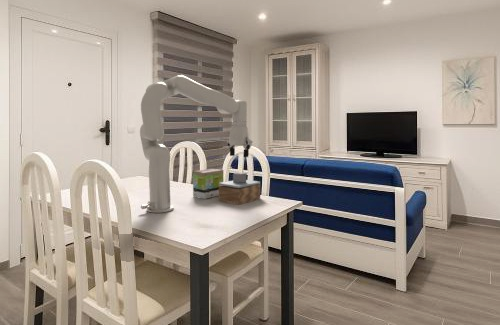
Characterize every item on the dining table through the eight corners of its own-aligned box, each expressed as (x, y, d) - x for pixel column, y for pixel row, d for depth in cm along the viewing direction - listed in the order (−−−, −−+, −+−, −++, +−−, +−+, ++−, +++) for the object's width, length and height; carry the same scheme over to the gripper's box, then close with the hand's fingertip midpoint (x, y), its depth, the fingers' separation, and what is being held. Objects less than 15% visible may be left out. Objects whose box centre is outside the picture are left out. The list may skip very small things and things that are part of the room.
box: (238, 204, 177) (238, 189, 176) (218, 200, 186) (218, 186, 185) (260, 198, 191) (260, 184, 190) (240, 194, 199) (240, 181, 198)
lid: (238, 188, 176) (238, 186, 176) (218, 184, 184) (218, 183, 184) (260, 183, 190) (260, 181, 189) (240, 180, 198) (240, 179, 198)
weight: (240, 183, 183) (240, 174, 183) (233, 182, 186) (233, 173, 186) (246, 182, 187) (246, 173, 187) (239, 181, 190) (239, 172, 190)
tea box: (205, 199, 189) (205, 172, 187) (192, 197, 195) (192, 170, 193) (224, 194, 201) (223, 169, 199) (211, 192, 207) (210, 167, 205)
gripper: (222, 123, 185) (222, 155, 187) (247, 124, 175) (247, 158, 177) (232, 123, 191) (231, 154, 193) (256, 124, 180) (256, 157, 182)
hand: (239, 156), depth 185 cm, fingers open, 9 cm apart
